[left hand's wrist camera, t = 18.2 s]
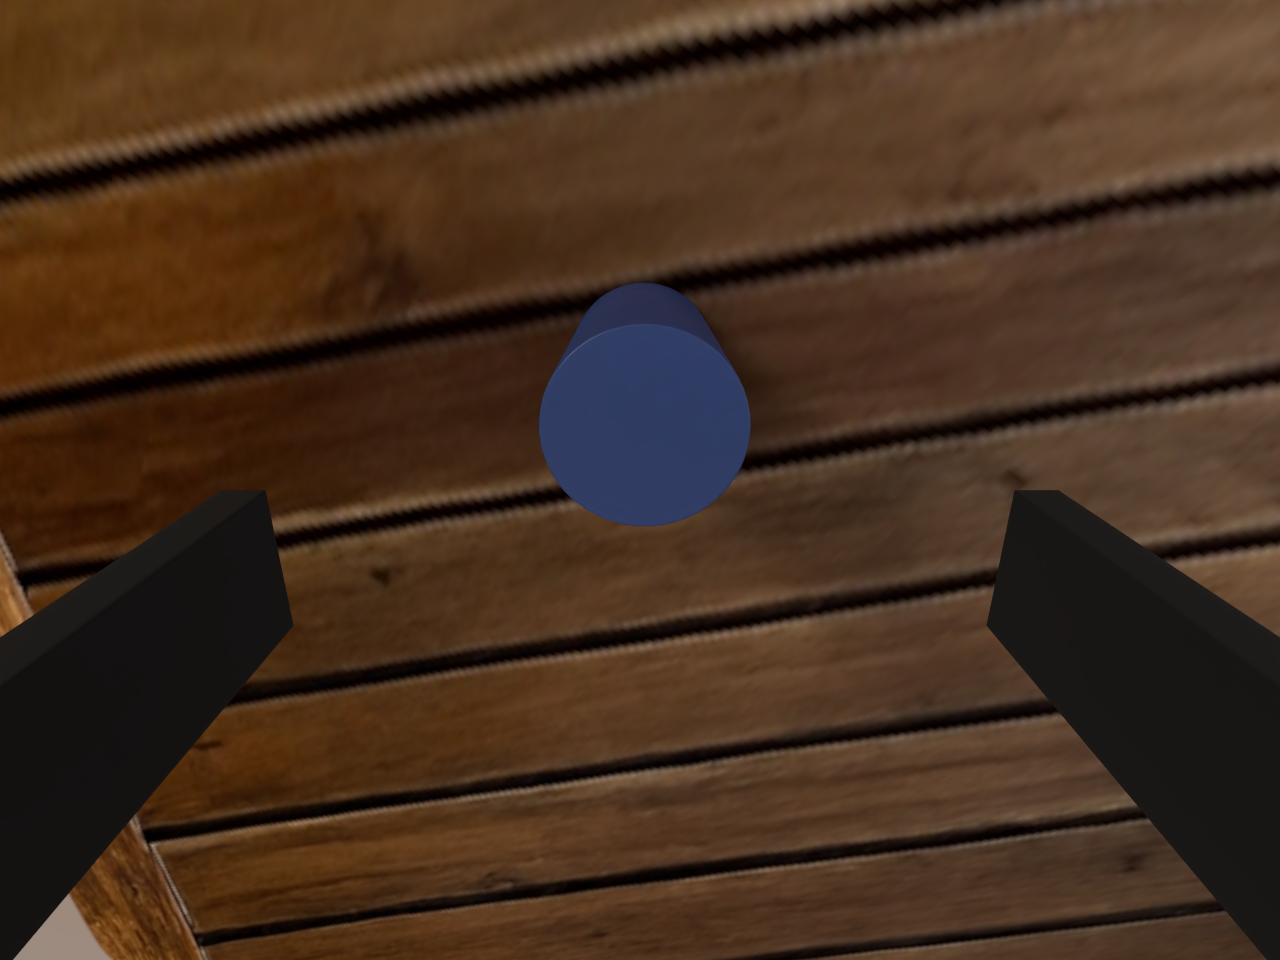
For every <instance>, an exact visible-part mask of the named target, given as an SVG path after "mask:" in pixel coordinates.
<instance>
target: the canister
mask: <svg viewBox="0 0 1280 960" xmlns="http://www.w3.org/2000/svg"><path fill="white" fill-rule="evenodd" d="M750 429H751V426H750V411H749V405H748V400H747V397H746V394H745V391H744V388H743V386H742V384H741V382H740V379H739V377H738V375H737V374H736V372H735V370H734V369H733V367H732V365H731V364H730V362H729V360H728V359H727V357H726V355H725V353H724V352H723V350H722V348H721V347H720V345H719V343H718V342H717V340H716V338H715V336H714V335H713V333H712V331H711V330H710V328H709V326H708V325H707V323H706V321H705V320H704V318H703V316H702V315H701V313H700V312H699V310H698V309H697V308H696V307H695V306H694V304H693V303H692V302H691V301H689V300H688V299H687V298H686V297H685V296H683V295H682V294H680V293H679V292H677V291H675V290H673V289H671V288H668V287H665V286H662V285H658V284H653V283H633V284H628V285H624V286H621V287H619V288H616V289H614V290H612V291H610V292H608V293H606V294H605V295H604V296H602V297H601V298H599V299H598V300H597V301H596V302H595V303H594V304H593V305H592V306H591V307H590V309H589V310H588V311H587V312H586V314H585V316H584V317H583V319H582V321H581V323H580V325H579V326H578V328H577V330H576V332H575V334H574V336H573V338H572V340H571V341H570V343H569V345H568V347H567V349H566V351H565V353H564V354H563V356H562V358H561V360H560V362H559V364H558V366H557V368H556V369H555V371H554V373H553V375H552V377H551V379H550V381H549V383H548V385H547V388H546V390H545V393H544V396H543V400H542V403H541V409H540V416H539V434H540V441H541V447H542V450H543V454H544V457H545V460H546V462H547V464H548V467H549V469H550V471H551V473H552V474H553V476H554V478H555V479H556V481H557V482H558V483H559V485H560V486H561V487H562V488H563V490H564V491H565V492H566V493H567V494H568V495H569V496H570V497H571V498H572V499H573V500H574V501H575V502H577V503H578V504H579V505H581V506H582V507H583V508H585V509H587V510H588V511H590V512H592V513H593V514H595V515H597V516H600V517H602V518H604V519H607V520H609V521H613V522H616V523H620V524H626V525H632V526H657V525H664V524H669V523H673V522H676V521H679V520H682V519H685V518H687V517H689V516H692V515H694V514H696V513H698V512H699V511H701V510H702V509H704V508H706V507H707V506H709V505H710V504H711V503H712V502H714V501H715V500H716V499H717V498H718V497H719V496H720V495H721V494H722V493H723V492H724V491H725V490H726V489H727V488H728V486H729V485H730V484H731V482H732V481H733V480H734V478H735V477H736V475H737V473H738V471H739V469H740V468H741V466H742V463H743V461H744V458H745V455H746V452H747V448H748V444H749V438H750Z"/></svg>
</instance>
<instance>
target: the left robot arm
mask: <svg viewBox="0 0 1280 960" xmlns="http://www.w3.org/2000/svg"><path fill="white" fill-rule="evenodd" d="M292 627H293V621H292V616H291V611H290V607H289V602H288V597H287V592H286V587H285V583H284V578H283V573H282V568H281V563H280V558H279V554H278V549H277V544H276V539H275V534H274V530H273V525H272V520H271V515H270V510H269V506H268V501H267V496H266V491H265V490H221V491H220V492H218V493H217V494H215V495H214V496H212V497H211V498H209V499H208V500H206V501H205V502H203V503H202V504H200V505H199V506H197V507H196V508H194V509H193V510H191V511H190V512H188V513H187V514H185V515H184V516H182V517H181V518H179V519H178V520H176V521H175V522H173V523H172V524H170V525H169V526H167V527H166V528H164V529H163V530H161V531H160V532H158V533H157V534H155V535H154V536H152V537H151V538H149V539H148V540H146V541H145V542H143V543H142V544H140V545H139V546H137V547H136V548H134V549H133V550H131V551H130V552H128V553H127V554H125V555H124V556H122V557H121V558H119V559H118V560H116V561H115V562H113V563H112V564H110V565H109V566H107V567H106V568H104V569H103V570H101V571H99V572H98V573H96V574H95V575H93V576H92V577H90V578H89V579H87V580H86V581H84V582H83V583H81V584H80V585H78V586H77V587H75V588H74V589H72V590H71V591H69V592H68V593H66V594H65V595H63V596H62V597H60V598H59V599H57V600H56V601H54V602H53V603H51V604H50V605H48V606H47V607H45V608H44V609H42V610H41V611H39V612H38V613H36V614H35V615H33V616H32V617H30V618H29V619H27V620H26V621H24V622H23V623H21V624H20V625H18V626H17V627H15V628H14V629H12V630H11V631H9V632H8V633H6V634H5V635H3V636H2V637H0V960H13V959H14V958H15V957H16V956H17V954H18V953H19V952H20V951H21V950H22V948H23V947H24V946H25V945H26V944H27V942H28V941H29V940H30V939H31V938H32V936H33V935H34V934H35V933H36V932H37V931H38V929H39V928H40V927H41V926H42V925H43V923H44V922H45V921H46V920H47V919H48V917H49V916H50V915H51V914H52V913H53V911H54V910H55V909H56V908H57V907H58V905H59V904H60V903H61V902H62V901H63V900H64V898H65V897H66V896H67V895H68V894H69V892H70V891H71V890H72V889H73V888H74V886H75V885H76V884H77V883H78V882H79V880H80V879H81V878H82V877H83V876H84V874H85V873H86V872H87V871H88V870H89V869H90V867H91V866H92V865H93V864H94V863H95V861H96V860H97V859H98V858H99V857H100V855H101V854H102V853H103V852H104V851H105V849H106V848H107V847H108V846H109V845H110V844H111V842H112V841H113V840H114V839H115V838H116V836H117V835H118V834H119V833H120V832H121V830H122V829H123V828H124V827H125V826H126V824H127V823H128V822H129V821H130V820H131V818H132V817H133V816H134V815H135V814H136V813H137V811H138V810H139V809H140V808H141V807H142V805H143V804H144V803H145V802H146V801H147V799H148V798H149V797H150V796H151V795H152V793H153V792H154V791H155V790H156V789H157V788H158V786H159V785H160V784H161V783H162V782H163V780H164V779H165V778H166V777H167V776H168V774H169V773H170V772H171V771H172V770H173V768H174V767H175V766H176V765H177V764H178V762H179V761H180V760H181V759H182V758H183V757H184V755H185V754H186V753H187V752H188V751H189V749H190V748H191V747H192V746H193V745H194V743H195V742H196V741H197V740H198V739H199V737H200V736H201V735H202V734H203V733H204V731H205V730H206V729H207V728H208V727H209V726H210V724H211V723H212V722H213V721H214V720H215V718H216V717H217V716H218V715H219V714H220V712H221V711H222V710H223V709H224V708H225V706H226V705H227V704H228V703H229V702H230V701H231V699H232V698H233V697H234V696H235V695H236V693H237V692H238V691H239V690H240V689H241V687H242V686H243V685H244V684H245V683H246V681H247V680H248V679H249V678H250V677H251V675H252V674H253V673H254V672H255V671H256V670H257V668H258V667H259V666H260V665H261V664H262V662H263V661H264V660H265V659H266V658H267V656H268V655H269V654H270V653H271V652H272V650H273V649H274V648H275V647H276V646H277V645H278V643H279V642H280V641H281V640H282V639H283V637H284V636H285V635H286V634H287V633H288V631H289V630H290V629H291V628H292ZM987 627H988V628H989V629H990V630H991V631H992V633H993V634H994V635H995V636H996V637H997V639H998V640H999V641H1000V642H1001V643H1002V645H1003V646H1004V647H1005V648H1006V649H1007V650H1008V652H1009V653H1010V654H1011V655H1012V656H1013V658H1014V659H1015V660H1016V661H1017V662H1018V664H1019V665H1020V666H1021V667H1022V668H1023V670H1024V671H1025V672H1026V673H1027V674H1028V675H1029V677H1030V678H1031V679H1032V680H1033V681H1034V683H1035V684H1036V685H1037V686H1038V687H1039V689H1040V690H1041V691H1042V692H1043V693H1044V695H1045V696H1046V697H1047V698H1048V699H1049V701H1050V702H1051V703H1052V704H1053V705H1054V706H1055V708H1056V709H1057V710H1058V711H1059V712H1060V714H1061V715H1062V716H1063V717H1064V718H1065V720H1066V721H1067V722H1068V723H1069V724H1070V726H1071V727H1072V728H1073V729H1074V730H1075V731H1076V733H1077V734H1078V735H1079V736H1080V737H1081V739H1082V740H1083V741H1084V742H1085V743H1086V745H1087V746H1088V747H1089V748H1090V749H1091V751H1092V752H1093V753H1094V754H1095V755H1096V757H1097V758H1098V759H1099V760H1100V761H1101V762H1102V764H1103V765H1104V766H1105V767H1106V768H1107V770H1108V771H1109V772H1110V773H1111V774H1112V776H1113V777H1114V778H1115V779H1116V780H1117V782H1118V783H1119V784H1120V785H1121V786H1122V788H1123V789H1124V790H1125V791H1126V792H1127V793H1128V795H1129V796H1130V797H1131V798H1132V799H1133V801H1134V802H1135V803H1136V804H1137V805H1138V807H1139V808H1140V809H1141V810H1142V811H1143V813H1144V814H1145V815H1146V816H1147V817H1148V818H1149V820H1150V821H1151V822H1152V823H1153V824H1154V826H1155V827H1156V828H1157V829H1158V830H1159V832H1160V833H1161V834H1162V835H1163V836H1164V838H1165V839H1166V840H1167V841H1168V842H1169V844H1170V845H1171V846H1172V847H1173V848H1174V849H1175V851H1176V852H1177V853H1178V854H1179V855H1180V857H1181V858H1182V859H1183V860H1184V861H1185V863H1186V864H1187V865H1188V866H1189V867H1190V869H1191V870H1192V871H1193V872H1194V873H1195V874H1196V876H1197V877H1198V878H1199V879H1200V880H1201V882H1202V883H1203V884H1204V885H1205V886H1206V888H1207V889H1208V890H1209V891H1210V892H1211V894H1212V895H1213V896H1214V897H1215V898H1216V900H1217V901H1218V902H1219V903H1220V904H1221V905H1222V907H1223V908H1224V909H1225V910H1226V911H1227V913H1228V914H1229V915H1230V916H1231V917H1232V919H1233V920H1234V921H1235V922H1236V923H1237V925H1238V926H1239V927H1240V928H1241V929H1242V931H1243V932H1244V933H1245V934H1246V935H1247V936H1248V938H1249V939H1250V940H1251V941H1252V942H1253V944H1254V945H1255V946H1256V947H1257V948H1258V950H1259V951H1260V952H1261V953H1262V954H1263V956H1264V957H1265V958H1266V959H1267V960H1280V637H1278V636H1277V635H1275V634H1274V633H1272V632H1271V631H1269V630H1268V629H1266V628H1265V627H1263V626H1262V625H1260V624H1259V623H1257V622H1256V621H1254V620H1253V619H1251V618H1250V617H1248V616H1247V615H1245V614H1244V613H1242V612H1241V611H1239V610H1238V609H1236V608H1235V607H1233V606H1232V605H1230V604H1229V603H1227V602H1226V601H1224V600H1223V599H1221V598H1220V597H1218V596H1217V595H1215V594H1214V593H1212V592H1211V591H1209V590H1208V589H1206V588H1205V587H1203V586H1202V585H1200V584H1199V583H1197V582H1196V581H1194V580H1193V579H1191V578H1190V577H1188V576H1187V575H1185V574H1184V573H1182V572H1181V571H1179V570H1177V569H1176V568H1174V567H1173V566H1171V565H1170V564H1168V563H1167V562H1165V561H1164V560H1162V559H1161V558H1159V557H1158V556H1156V555H1155V554H1153V553H1152V552H1150V551H1149V550H1147V549H1146V548H1144V547H1143V546H1141V545H1140V544H1138V543H1137V542H1135V541H1134V540H1132V539H1131V538H1129V537H1128V536H1126V535H1125V534H1123V533H1122V532H1120V531H1119V530H1117V529H1116V528H1114V527H1113V526H1111V525H1110V524H1108V523H1107V522H1105V521H1104V520H1102V519H1101V518H1099V517H1098V516H1096V515H1095V514H1093V513H1092V512H1090V511H1089V510H1087V509H1086V508H1084V507H1083V506H1081V505H1080V504H1078V503H1077V502H1075V501H1074V500H1072V499H1071V498H1069V497H1068V496H1066V495H1065V494H1063V493H1062V492H1060V491H1059V490H1015V491H1014V496H1013V501H1012V505H1011V510H1010V515H1009V520H1008V525H1007V530H1006V534H1005V539H1004V544H1003V549H1002V554H1001V558H1000V563H999V568H998V573H997V578H996V583H995V587H994V592H993V597H992V602H991V607H990V611H989V616H988V621H987Z"/></svg>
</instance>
